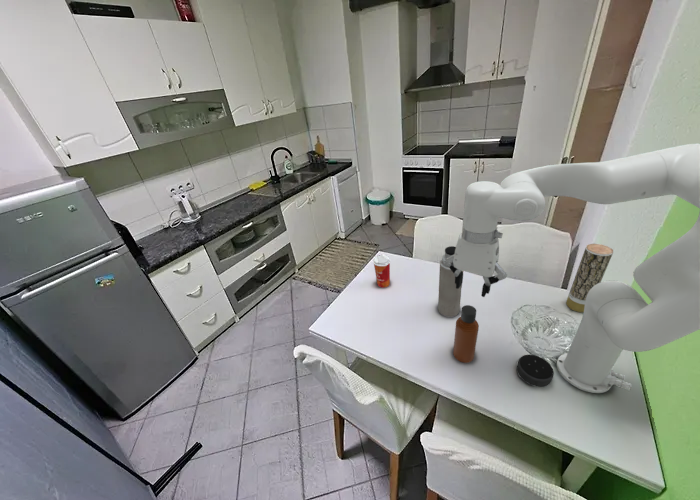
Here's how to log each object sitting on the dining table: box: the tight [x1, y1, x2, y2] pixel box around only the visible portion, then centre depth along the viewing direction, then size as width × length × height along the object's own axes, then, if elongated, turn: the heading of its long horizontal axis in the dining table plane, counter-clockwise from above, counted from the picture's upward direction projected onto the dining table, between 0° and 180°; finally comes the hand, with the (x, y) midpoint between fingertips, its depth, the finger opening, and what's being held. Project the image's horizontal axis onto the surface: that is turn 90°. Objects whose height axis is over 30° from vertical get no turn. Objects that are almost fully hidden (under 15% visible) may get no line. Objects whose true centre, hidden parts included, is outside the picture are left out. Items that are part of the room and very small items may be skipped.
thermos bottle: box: [437, 245, 464, 318], centre depth 101 cm, size 8×8×28 cm
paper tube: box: [565, 243, 614, 313], centre depth 95 cm, size 7×7×25 cm
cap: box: [460, 304, 477, 323], centre depth 81 cm, size 4×4×3 cm
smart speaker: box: [516, 354, 555, 388], centre depth 81 cm, size 9×9×4 cm
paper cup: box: [372, 254, 391, 289], centre depth 124 cm, size 8×8×14 cm
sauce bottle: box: [452, 316, 480, 364], centre depth 86 cm, size 6×6×20 cm
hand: (471, 289), depth 77 cm, fingers open, 6 cm apart
